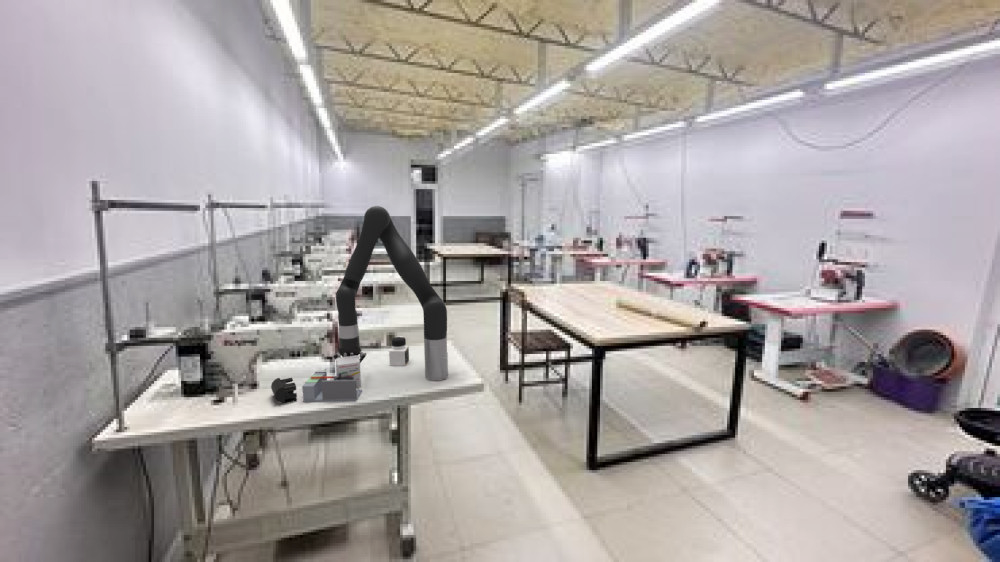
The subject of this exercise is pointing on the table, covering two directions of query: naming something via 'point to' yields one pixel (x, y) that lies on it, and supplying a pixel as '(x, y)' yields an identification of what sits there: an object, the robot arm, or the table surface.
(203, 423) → the table surface
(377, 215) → the robot arm
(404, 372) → the table surface
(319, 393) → the gauge body
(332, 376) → the plunger
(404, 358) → the medicine bottle
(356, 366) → the ink box
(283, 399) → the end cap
